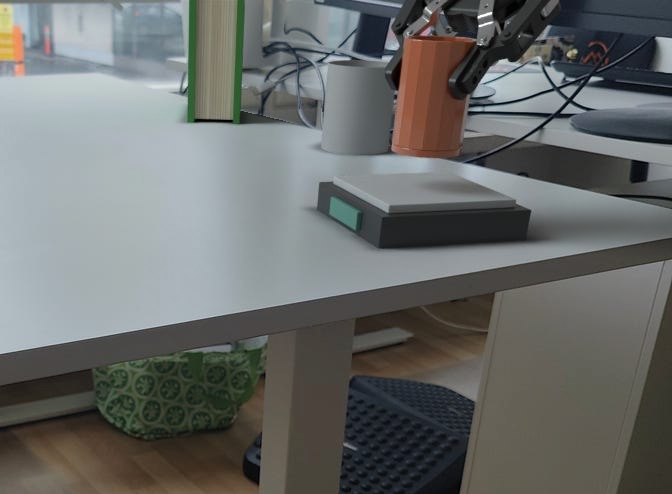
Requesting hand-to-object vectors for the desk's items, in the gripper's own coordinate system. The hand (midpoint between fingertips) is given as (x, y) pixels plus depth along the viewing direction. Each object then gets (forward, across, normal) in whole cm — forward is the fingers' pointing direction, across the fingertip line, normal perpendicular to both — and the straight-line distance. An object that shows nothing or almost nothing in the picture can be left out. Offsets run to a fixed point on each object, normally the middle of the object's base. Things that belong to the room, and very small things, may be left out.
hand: (422, 87), depth 81 cm
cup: (-10, +29, -27) cm, 41 cm away
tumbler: (+3, 0, -5) cm, 6 cm away
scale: (+7, 0, -10) cm, 12 cm away
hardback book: (-13, +61, -30) cm, 69 cm away
